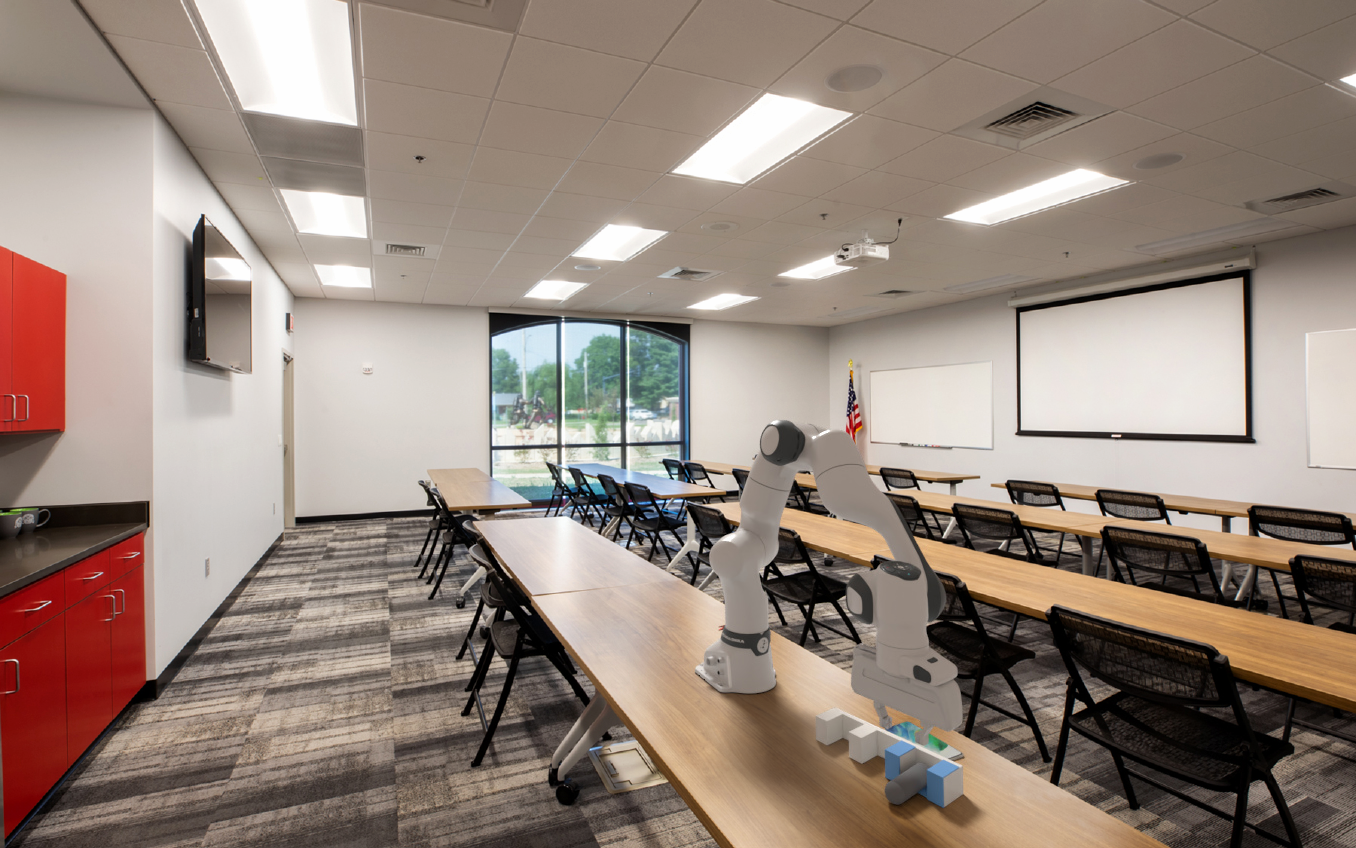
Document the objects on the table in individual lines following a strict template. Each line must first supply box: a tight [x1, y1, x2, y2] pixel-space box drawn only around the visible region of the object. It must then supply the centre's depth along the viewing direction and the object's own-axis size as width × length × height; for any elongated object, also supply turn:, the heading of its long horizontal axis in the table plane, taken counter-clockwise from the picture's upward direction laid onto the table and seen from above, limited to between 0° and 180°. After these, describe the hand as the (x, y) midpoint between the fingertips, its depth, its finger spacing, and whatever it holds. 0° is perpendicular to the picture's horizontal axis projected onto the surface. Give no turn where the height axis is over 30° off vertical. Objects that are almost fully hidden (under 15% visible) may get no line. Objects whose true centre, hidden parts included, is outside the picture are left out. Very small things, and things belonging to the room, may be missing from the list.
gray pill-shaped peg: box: [884, 763, 929, 806], centre depth 109 cm, size 4×12×4 cm, turn 126°
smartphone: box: [884, 720, 964, 761], centre depth 126 cm, size 7×1×15 cm
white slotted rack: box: [815, 707, 964, 809], centre depth 118 cm, size 28×6×5 cm, turn 36°
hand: (903, 735), depth 108 cm, fingers open, 6 cm apart
